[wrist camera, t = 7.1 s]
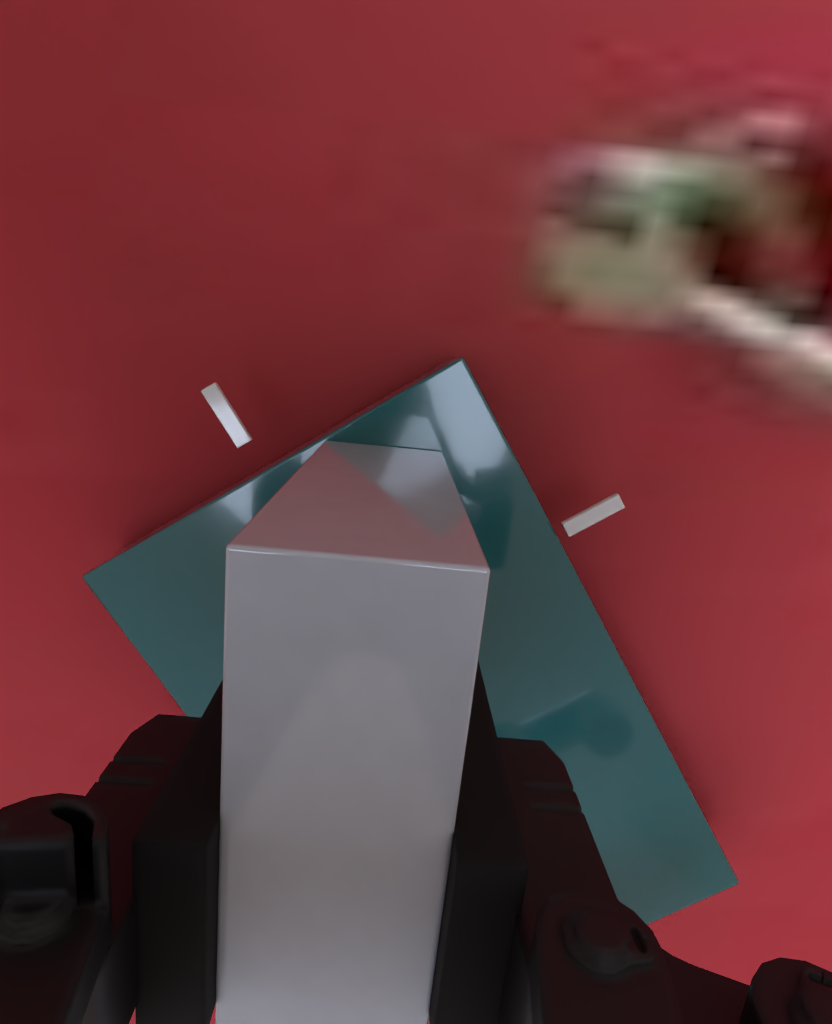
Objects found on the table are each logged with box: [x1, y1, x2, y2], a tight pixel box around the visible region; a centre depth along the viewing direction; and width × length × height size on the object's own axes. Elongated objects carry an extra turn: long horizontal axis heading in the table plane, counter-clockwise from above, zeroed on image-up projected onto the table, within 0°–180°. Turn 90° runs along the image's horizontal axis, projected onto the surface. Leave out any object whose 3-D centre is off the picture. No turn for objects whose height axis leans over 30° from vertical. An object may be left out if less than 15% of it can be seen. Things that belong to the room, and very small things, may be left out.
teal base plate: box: [83, 357, 739, 1022], centre depth 16 cm, size 18×13×2 cm
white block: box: [215, 441, 490, 1024], centre depth 10 cm, size 9×3×8 cm, turn 174°
